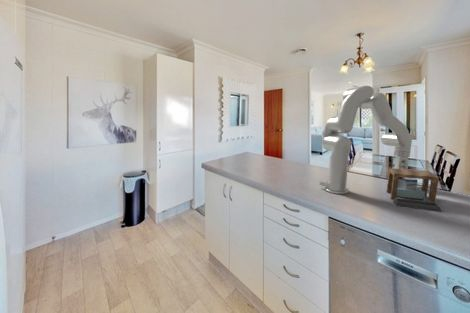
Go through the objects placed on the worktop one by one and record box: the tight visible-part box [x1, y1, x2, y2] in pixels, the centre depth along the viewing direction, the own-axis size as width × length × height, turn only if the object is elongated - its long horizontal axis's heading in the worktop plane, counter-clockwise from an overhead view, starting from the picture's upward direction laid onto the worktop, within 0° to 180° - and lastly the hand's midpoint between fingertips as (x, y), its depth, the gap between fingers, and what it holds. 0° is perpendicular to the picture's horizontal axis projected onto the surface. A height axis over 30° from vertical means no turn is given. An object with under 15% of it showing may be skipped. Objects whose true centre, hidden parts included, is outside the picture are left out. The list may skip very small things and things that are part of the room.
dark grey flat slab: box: [393, 197, 442, 212], centre depth 101 cm, size 16×6×2 cm, turn 64°
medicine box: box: [398, 178, 418, 190], centre depth 115 cm, size 8×4×9 cm, turn 105°
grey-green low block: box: [385, 177, 426, 200], centre depth 121 cm, size 12×25×7 cm, turn 154°
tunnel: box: [386, 167, 440, 203], centre depth 110 cm, size 17×13×14 cm
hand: (398, 183), depth 132 cm, fingers closed on grey-green low block, 2 cm apart
